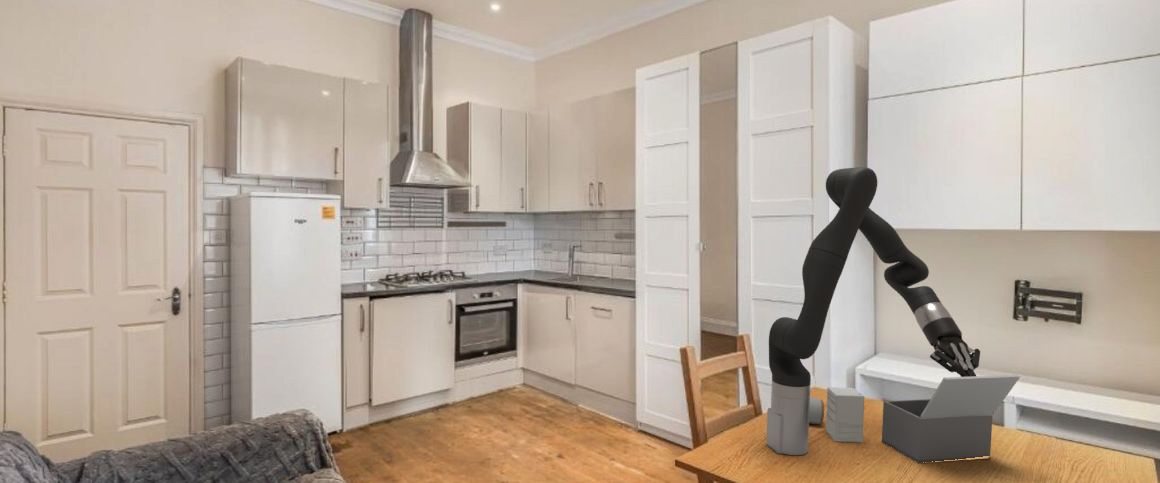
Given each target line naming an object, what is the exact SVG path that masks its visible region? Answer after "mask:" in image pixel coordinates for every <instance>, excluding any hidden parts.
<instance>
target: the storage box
mask: <svg viewBox="0 0 1160 483" xmlns="http://www.w3.org/2000/svg"><path fill="white" fill-rule="evenodd" d="M930 399H931V398H929V399H928V398H927V399H925V398H923V399H903V400H902V399H901V400H884V401H883V406H882V408H883V409H882V428H881V443H882V442H883V443H882V444H884V443H885V444H884V445H886V444H887V445H886V446H888V447H889V446H890V448H891V447H892V448H891V449H893V450H894V449H895V450H894V451H896V450H897V451H896V452H898V451H899V452H898V453H900V454H901V453H902V455H903V454H904V455H903V456H905V457H907V458H908V457H909V458H908V459H910V458H911V459H910V460H912V461H913V460H914V462H915V461H916V462H915V463H917V462H918V463H917V464H919V463H921V464H926V463H925V462H932V461H933V462H935V461H944V460H955V459H957V460H958V459H966V458H975V457H983V456H990V457H991V449H992V448H991V447H992V429H993V414H991V415H971V416H951V417H931V418H922V417H921V414H922V412H923V411H924V409H925V407H926V406H927V404H928V403H929V401H930ZM923 462H924V463H923Z"/></svg>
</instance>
